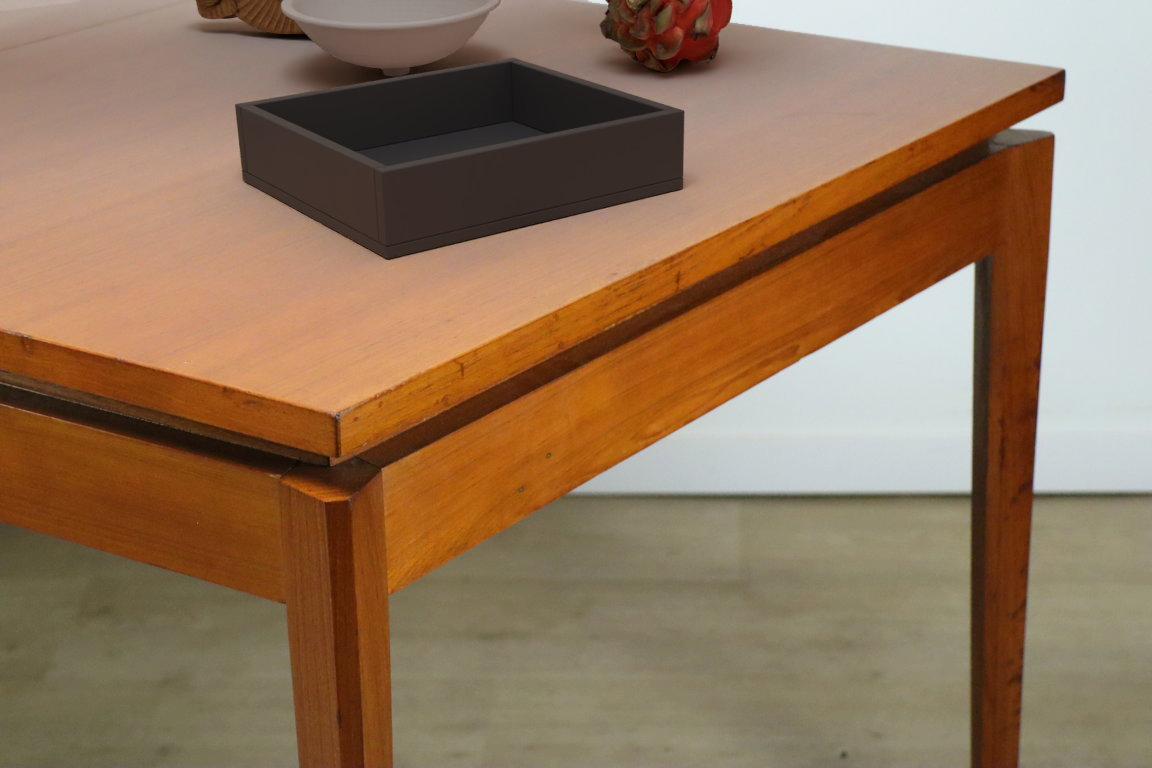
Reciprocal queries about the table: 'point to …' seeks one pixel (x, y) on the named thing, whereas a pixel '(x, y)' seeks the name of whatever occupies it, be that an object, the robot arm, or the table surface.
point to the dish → (389, 29)
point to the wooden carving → (251, 14)
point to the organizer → (458, 152)
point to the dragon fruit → (666, 29)
